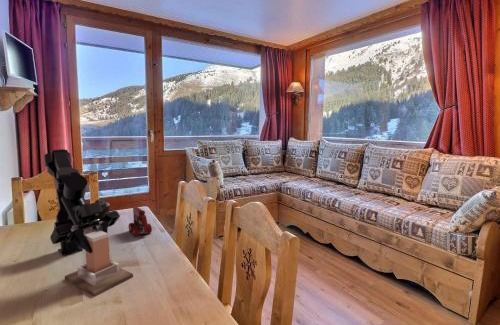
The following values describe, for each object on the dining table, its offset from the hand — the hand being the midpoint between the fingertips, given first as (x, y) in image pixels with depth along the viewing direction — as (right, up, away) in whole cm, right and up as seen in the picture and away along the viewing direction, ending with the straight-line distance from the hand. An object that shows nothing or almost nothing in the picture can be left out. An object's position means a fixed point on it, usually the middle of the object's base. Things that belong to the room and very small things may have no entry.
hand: (99, 249), depth 87 cm
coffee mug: (-22, -3, +45) cm, 51 cm away
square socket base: (-1, -9, +2) cm, 10 cm away
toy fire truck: (-2, -4, +38) cm, 38 cm away
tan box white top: (-1, -6, +2) cm, 7 cm away
